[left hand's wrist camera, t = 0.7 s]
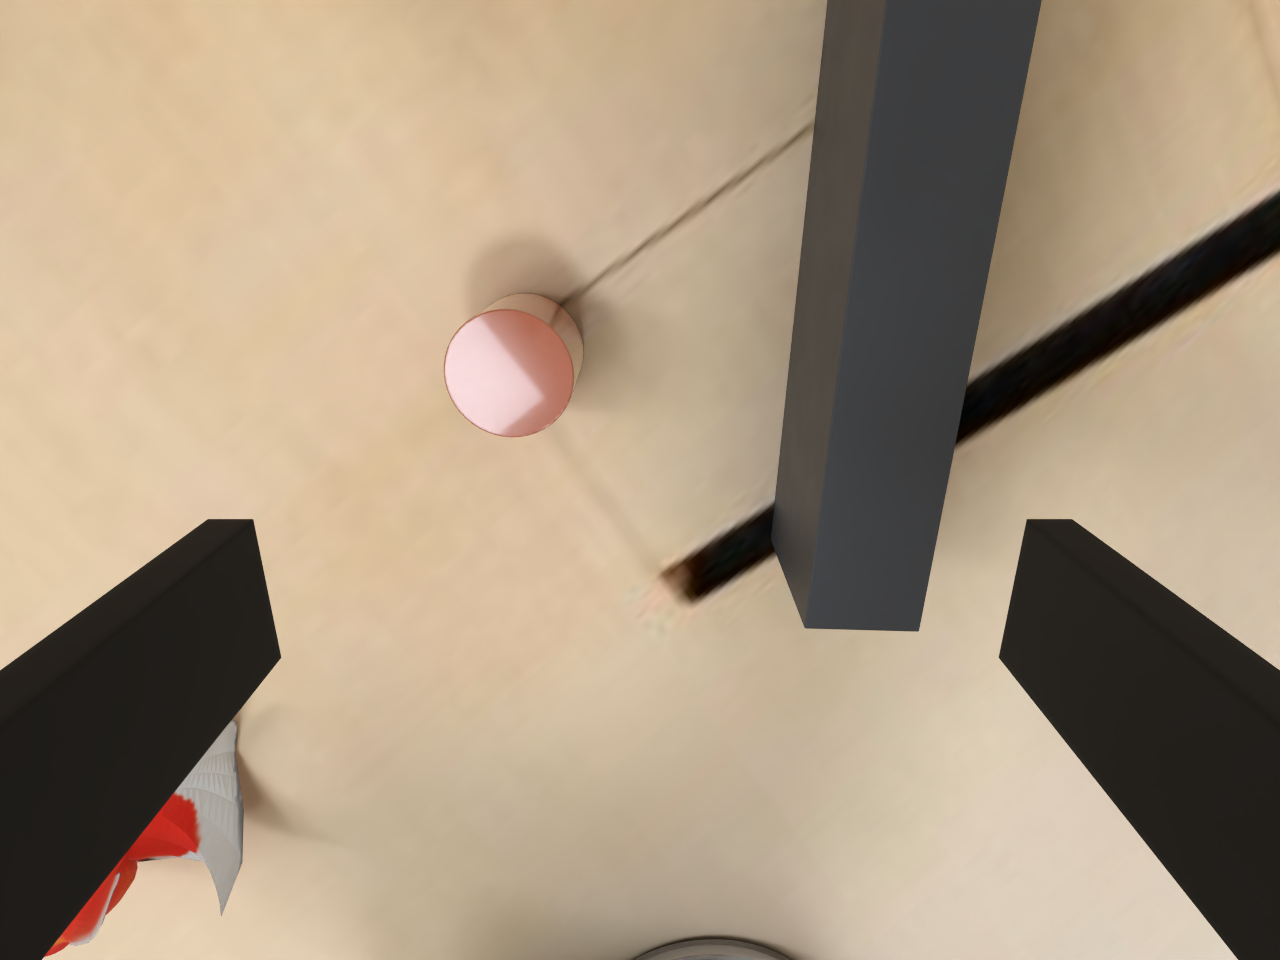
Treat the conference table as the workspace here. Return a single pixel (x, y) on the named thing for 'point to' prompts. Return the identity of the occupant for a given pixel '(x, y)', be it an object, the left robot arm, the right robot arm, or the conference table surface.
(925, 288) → the bar
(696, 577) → the conference table surface
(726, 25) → the conference table surface
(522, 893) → the conference table surface
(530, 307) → the glossy pink cylinder
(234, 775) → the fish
